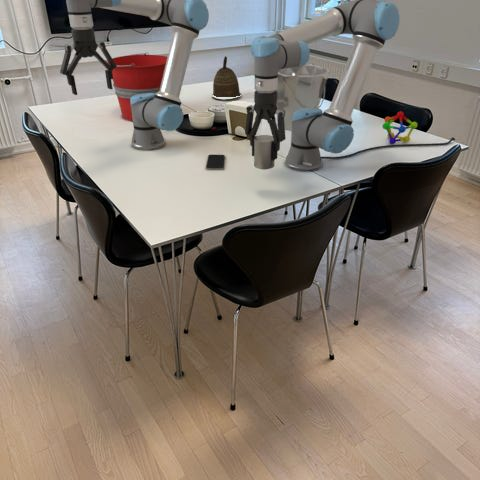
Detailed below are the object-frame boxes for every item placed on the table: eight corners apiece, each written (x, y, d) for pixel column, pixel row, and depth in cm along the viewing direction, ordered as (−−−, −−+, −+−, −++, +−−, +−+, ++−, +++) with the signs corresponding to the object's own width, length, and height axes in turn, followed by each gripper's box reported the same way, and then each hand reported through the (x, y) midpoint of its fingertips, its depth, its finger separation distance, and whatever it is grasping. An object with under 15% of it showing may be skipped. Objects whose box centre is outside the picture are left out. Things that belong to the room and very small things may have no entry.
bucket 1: (121, 106, 263) (114, 51, 247) (180, 106, 262) (176, 52, 246) (104, 123, 233) (95, 63, 217) (170, 124, 232) (166, 64, 216)
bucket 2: (296, 138, 215) (301, 78, 201) (255, 124, 234) (256, 68, 219) (335, 125, 232) (342, 70, 217) (294, 113, 251) (297, 61, 236)
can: (271, 170, 153) (272, 143, 148) (251, 168, 155) (251, 140, 150) (276, 162, 159) (277, 136, 154) (257, 160, 161) (257, 133, 156)
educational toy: (377, 146, 209) (379, 114, 202) (384, 138, 219) (386, 107, 211) (411, 149, 202) (415, 116, 195) (417, 141, 212) (420, 109, 204)
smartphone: (205, 167, 182) (208, 154, 195) (205, 169, 182) (208, 155, 195) (223, 168, 182) (225, 154, 194) (223, 169, 182) (225, 156, 195)
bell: (227, 105, 294) (202, 96, 282) (238, 66, 289) (213, 55, 277) (243, 108, 280) (217, 98, 268) (255, 66, 275) (229, 55, 263)
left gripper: (49, 32, 143) (63, 98, 154) (120, 26, 156) (128, 88, 168) (41, 29, 148) (55, 94, 159) (111, 24, 161) (119, 84, 173)
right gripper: (233, 89, 145) (234, 154, 158) (288, 97, 136) (284, 166, 148) (245, 84, 151) (245, 148, 163) (299, 92, 141) (295, 159, 154)
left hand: (92, 91), depth 163 cm, fingers open, 13 cm apart
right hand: (264, 157), depth 156 cm, fingers closed on can, 7 cm apart
